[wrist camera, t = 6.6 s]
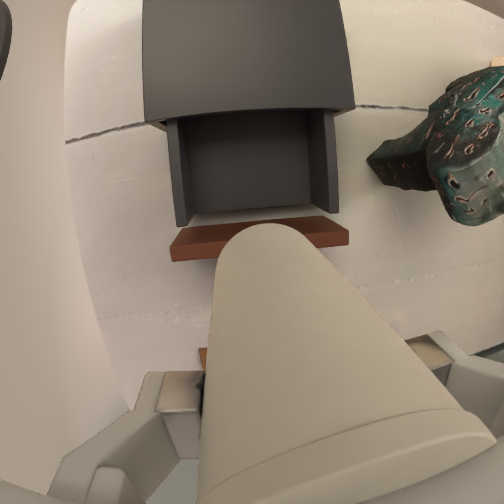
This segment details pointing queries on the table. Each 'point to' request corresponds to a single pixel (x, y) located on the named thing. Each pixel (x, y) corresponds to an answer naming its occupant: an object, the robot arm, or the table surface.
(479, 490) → the robot arm
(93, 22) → the table surface
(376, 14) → the table surface
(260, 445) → the container
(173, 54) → the cabinet
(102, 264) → the table surface
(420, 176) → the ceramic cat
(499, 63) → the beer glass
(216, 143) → the drawer
